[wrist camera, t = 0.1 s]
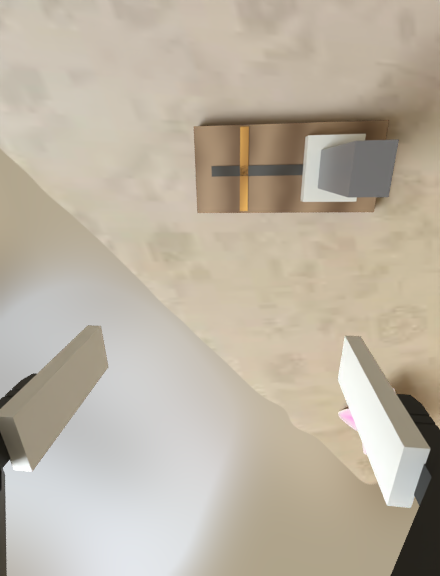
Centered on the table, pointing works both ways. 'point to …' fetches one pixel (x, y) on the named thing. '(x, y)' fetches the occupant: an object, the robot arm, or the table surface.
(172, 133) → the table surface
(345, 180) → the slider
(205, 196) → the board
